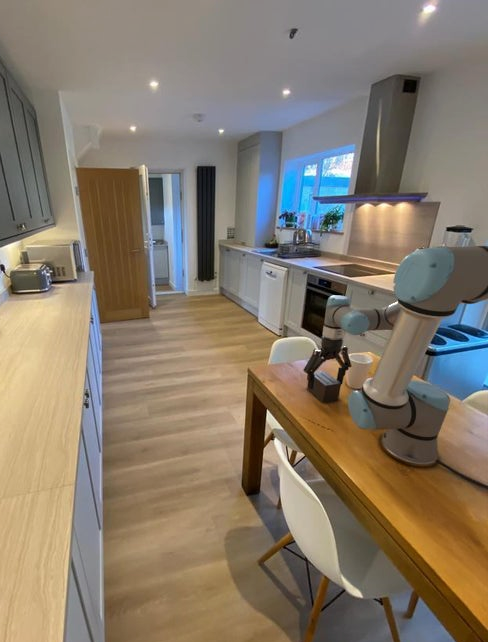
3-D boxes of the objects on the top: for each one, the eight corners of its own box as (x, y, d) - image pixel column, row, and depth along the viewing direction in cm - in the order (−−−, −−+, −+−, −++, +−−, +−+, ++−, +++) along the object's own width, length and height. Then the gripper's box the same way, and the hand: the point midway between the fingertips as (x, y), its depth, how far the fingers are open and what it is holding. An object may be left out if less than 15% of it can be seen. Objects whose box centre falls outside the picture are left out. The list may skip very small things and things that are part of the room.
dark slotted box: (305, 387, 140) (307, 370, 136) (319, 385, 141) (322, 368, 138) (322, 402, 129) (325, 385, 125) (337, 400, 130) (341, 382, 127)
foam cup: (369, 391, 136) (376, 364, 130) (345, 389, 137) (351, 362, 132) (362, 380, 144) (369, 354, 138) (340, 378, 146) (345, 352, 140)
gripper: (309, 343, 117) (302, 394, 126) (367, 336, 122) (357, 385, 131) (298, 336, 124) (292, 385, 132) (353, 330, 129) (344, 376, 138)
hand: (324, 385), depth 132 cm, fingers open, 13 cm apart
